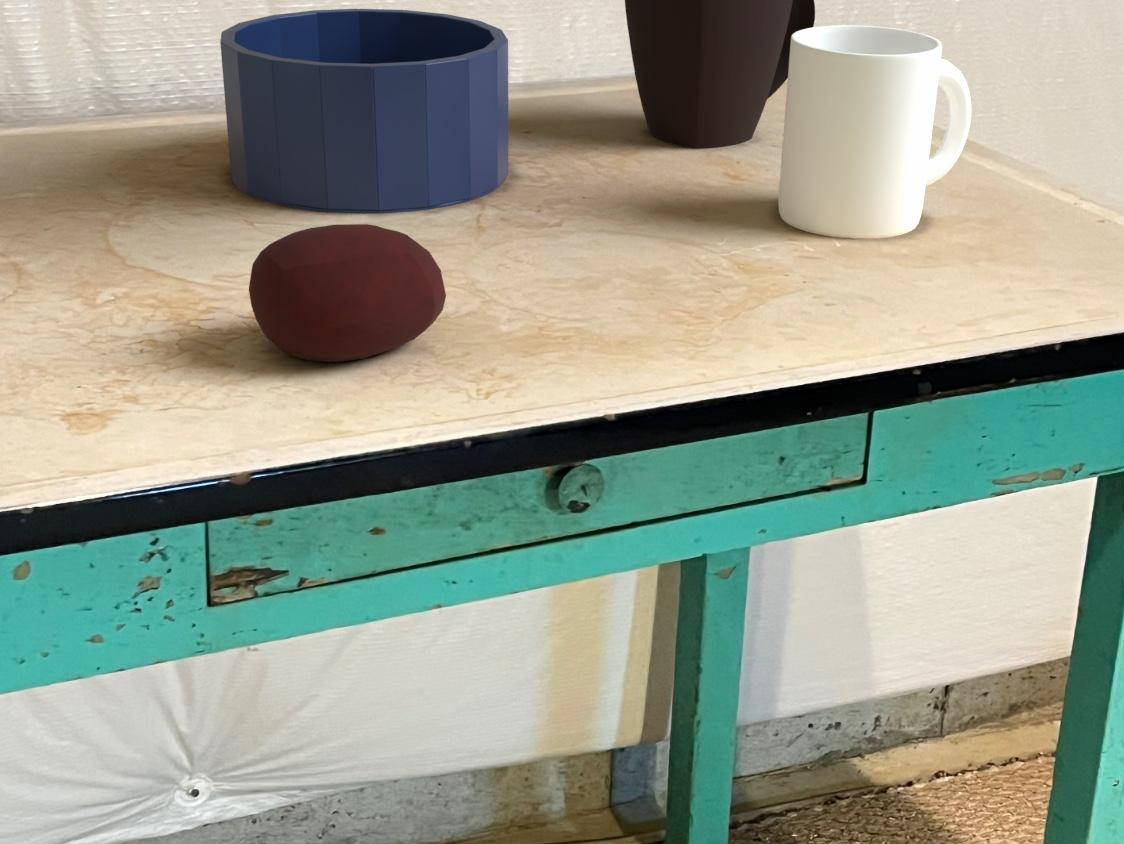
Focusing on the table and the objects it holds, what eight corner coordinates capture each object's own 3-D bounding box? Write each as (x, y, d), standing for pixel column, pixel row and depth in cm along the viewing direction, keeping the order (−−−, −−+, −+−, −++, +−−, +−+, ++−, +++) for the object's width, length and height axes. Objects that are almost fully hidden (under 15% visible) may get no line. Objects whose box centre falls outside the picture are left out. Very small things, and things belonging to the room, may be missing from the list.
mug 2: (916, 190, 105) (937, 16, 100) (1001, 228, 98) (1028, 44, 93) (750, 211, 100) (762, 30, 95) (827, 252, 93) (845, 59, 88)
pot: (172, 188, 101) (158, 41, 97) (347, 131, 114) (340, -2, 110) (399, 237, 94) (394, 80, 90) (558, 170, 107) (560, 30, 103)
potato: (249, 332, 81) (239, 207, 78) (436, 320, 83) (433, 198, 80) (260, 391, 74) (249, 258, 71) (462, 378, 76) (460, 247, 73)
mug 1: (596, 134, 115) (600, -54, 109) (748, 108, 122) (760, -69, 116) (691, 168, 108) (702, -31, 102) (846, 138, 115) (864, -49, 110)
